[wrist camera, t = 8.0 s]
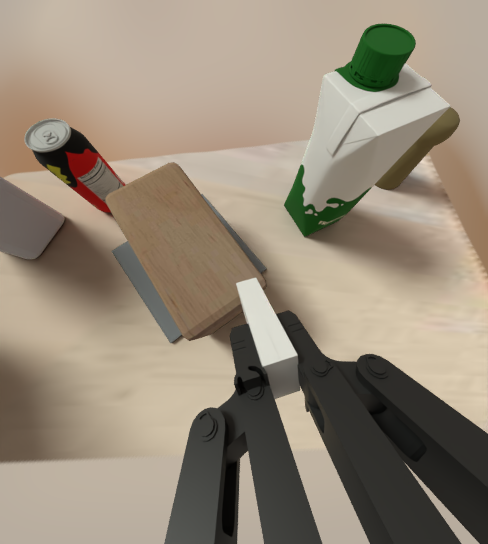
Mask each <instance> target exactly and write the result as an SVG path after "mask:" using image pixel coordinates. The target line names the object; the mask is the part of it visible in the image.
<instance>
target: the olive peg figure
mask: <svg viewBox="0 0 488 544" xmlns="http://www.w3.org/2000/svg"><path fill="white" fill-rule="evenodd" d="M459 122H460V119H459V115H458V113H457V112H456V111H455V110H454V109H452V108H451V107H450V108H448V109H447V110H446V111H445V112H444V113H443V114H442V115H441V116H440V117H439V118H438V120H437V121H436V122H435V123H434V124H433V125H432V126H431V127H430V128H429V129H428V130H427V131H426V132H425V133H424V134H423V135H422V136H421V137H420V138H419V139H418V140H417V141H416V142H415V143H414V144H413V145H412V146H411V147H410V148H409V149H408V150H407V151H406V152H405V153H404V154H403V155H402V156H401V157H400V158H399V159H398V160H397V161H396V163H395V164H394V165H393V166H392V167H391V168H390V169H389V170H388V171H387V172H386V173H385V174H384V175H383V176H382V177H381V178H380V179H379V180H378V182H377V183H376V184H375V185H376V186H377V187H379V188H382V189H386V190H391V189H395V188H397V187H398V186H399V185H400V184H401V183H402V181H403V180H404V179H405V178H406V177H407V176H408V175H409V174H410V172H411V171H412V170H413V169H414V168H415V167H416V166H417V164H418V163H419V162H420V161H421V160H422V159H423V158H424V157H425V155H426V154H427V153H428V152H429V151H430V150H431V149H432V147H433V146H435V145H438V144H440V143H442V142H443V141H445V140H446V139H448V138H449V137H450V136H451V135H452V134H453V132H454V131H455V130H456V129H457V127H458V125H459Z"/></svg>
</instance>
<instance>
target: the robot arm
mask: <svg viewBox="0 0 488 544" xmlns="http://www.w3.org/2000/svg"><path fill="white" fill-rule="evenodd" d="M236 285H237V289H238V293H239V297H240V300H241V304H242V308H243V312H244V315H245V318H246V322H247V324H244V325H241V326H238V327H234V328H232V330H231V333H230V340H231V346H232V351H233V357H234V363H235V369H236V375H235V378H234V385H235V388H236V390H235V392H234V394H233V395H232V397H231V398H230V399H229V400H228V401H226V402H225V403H224V404H222V405H221V406H220V407H219V408H211V407H210V408H207V409H204V410H203V411H201V412H200V413H199V414H198V415H197V416H196V418H195V419H194V421H193V423H192V426H191V428H190V432H189V437H188V441H187V446H186V450H185V455H184V459H183V463H182V469H181V473H180V477H179V481H178V486H177V490H176V494H175V499H174V503H173V508H172V512H171V516H170V521H169V525H168V530H167V534H166V539H165V543H164V544H237V529H238V500H239V471H240V458H241V457H242V456H243V455H244V454H245V453H246V452H247V451H248V452H249V458H250V464H251V470H252V476H253V481H254V487H255V493H256V499H257V504H258V510H259V516H260V522H261V527H262V533H263V539H264V544H322V541H321V539H320V535H319V532H318V530H317V526H316V523H315V520H314V517H313V514H312V511H311V508H310V505H309V502H308V499H307V496H306V493H305V490H304V487H303V484H302V481H301V478H300V475H299V472H298V469H297V466H296V463H295V460H294V457H293V454H292V451H291V448H290V445H289V442H288V438H287V435H286V432H285V429H284V426H283V423H282V420H281V417H280V414H279V411H278V408H277V405H276V402H275V399H276V398H279V397H282V396H285V395H288V394H291V393H294V392H297V391H300V386H301V389H302V391H303V393H304V395H305V407H306V411H307V412H309V411H310V413H311V415H312V418H313V420H314V422H315V424H316V426H317V429H318V431H319V433H320V435H321V437H322V440H323V442H324V444H325V446H326V448H327V450H328V453H329V455H330V457H331V459H332V461H333V464H334V466H335V468H336V470H337V472H338V474H339V476H340V479H341V481H342V483H343V485H344V488H345V490H346V492H347V494H348V496H349V499H350V501H351V503H352V505H353V507H354V510H355V511H356V514H357V516H358V518H359V520H360V523H361V525H362V527H363V529H364V531H365V534H366V535H367V538H368V540H369V542H370V544H461V543H460V541H459V540H458V538H457V537H456V536H455V534H454V532H453V531H452V530H451V528H450V527H449V525H448V524H447V523H446V521H445V520H444V518H443V517H442V516H441V514H440V513H439V511H438V510H437V508H436V507H435V506H434V504H433V503H432V502H431V500H430V499H429V497H428V496H427V494H426V493H425V491H424V490H423V489H422V488H421V486H420V484H419V483H418V481H417V480H416V479H415V477H414V476H413V474H412V473H411V471H410V470H409V469H408V467H407V466H406V465H405V463H406V464H407V465H408V466H409V468H410V469H411V470H412V471H413V472H414V473H415V474H416V475H417V476H418V477H419V478H420V480H422V482H423V483H424V484H425V485H426V486H427V487H428V488H429V489H430V490H431V491H432V492H433V494H434V495H435V496H436V497H437V498H438V499H439V500H440V501H441V502H442V503H443V504H444V506H445V507H446V508H447V509H448V510H449V511H450V512H451V513H452V514H453V515H454V516H455V517H456V518H457V520H458V521H459V522H460V523H461V524H462V525H463V526H464V527H465V528H466V529H467V530H468V531H469V532H470V534H471V535H472V536H473V537H474V538H475V539H476V540H477V541H478V542H479V543H480V544H488V434H487V433H486V432H485V431H483V430H482V429H481V428H479V427H478V426H476V425H475V424H474V423H472V422H471V421H470V420H468V419H467V418H466V417H464V416H463V415H461V414H460V413H459V412H457V411H456V410H455V409H453V408H452V407H450V406H449V405H448V404H446V403H445V402H444V401H442V400H441V399H440V398H438V397H437V396H435V395H434V394H433V393H431V392H430V391H429V390H427V389H426V388H424V387H423V386H422V385H420V384H419V383H418V382H416V381H415V380H414V379H412V378H411V377H409V376H408V375H407V374H405V373H404V372H403V371H401V370H400V369H398V368H397V367H396V366H394V365H393V364H392V363H390V362H389V361H387V360H386V359H384V358H382V357H380V356H377V355H374V354H365V355H363V356H360V358H359V359H358V360H357V362H342V361H335V360H332V359H330V358H328V357H326V356H325V355H324V354H323V353H322V352H321V351H320V350H319V348H318V347H317V345H316V344H315V343H314V341H313V340H312V338H311V337H310V335H309V334H308V332H307V331H306V329H305V328H304V326H303V325H302V323H301V322H300V320H299V319H298V317H297V316H296V315H295V314H293V313H292V312H290V311H286V312H282V313H279V314H275V312H274V310H273V308H272V306H271V305H270V303H269V301H268V299H267V297H266V295H265V293H264V292H263V290H262V288H261V286H260V284H259V282H258V280H257V278H252V279H249V280H245V281H242V282H238V283H236ZM403 461H404V462H405V463H404V462H403Z"/></svg>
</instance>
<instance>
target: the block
mask: <svg viewBox="0 0 488 544" xmlns="http://www.w3.org/2000/svg"><path fill="white" fill-rule="evenodd" d="M105 199H106V203H107V206H108V208H109V209H110V211H111V213H112V215H113V216H114V218H115V220H116V221H117V223H118V225H119V227H120V228H121V230H122V232H123V234H124V235H125V237H126V239H127V240H128V242H129V244H130V246H131V247H132V249H133V251H134V253H135V254H136V256H137V258H138V259H139V261H140V263H141V265H142V266H143V268H144V270H145V272H146V273H147V275H148V277H149V278H150V280H151V282H152V284H153V285H154V287H155V289H156V291H157V292H158V294H159V296H160V297H161V299H162V301H163V303H164V304H165V306H166V308H167V310H168V311H169V313H170V315H171V317H172V318H173V320H174V322H175V323H176V325H177V327H178V329H179V330H180V332H181V334H182V336H183V337H185V338H186V339H187V340H189V341H191V340H195V339H199V338H202V337H205V336H208V335H211V334H212V333H214V332H215V331H216V330H218V329H219V328H221V327H222V326H223V325H225V324H226V323H228V322H229V321H230V320H232V319H233V318H235V317H236V316H237V315H239V314H240V313H242V312H243V308H242V304H241V300H240V297H239V293H238V289H237V285H236V283H238V282H242V281H245V280H249V279H252V278H257V280H258V282H259V284H260V286H261V288H262V290H263V291H264V290H265V288H266V282H265V279H264V277H263V276H262V275H261V273H260V272H259V271H258V270H257V268H256V267H255V266H254V264H253V263H252V262H251V260H250V259H249V258H248V256H247V255H246V254H245V252H244V251H243V250H242V248H241V247H240V246H239V244H238V243H237V242H236V240H235V239H234V238H233V236H232V235H231V234H230V232H229V231H228V230H227V228H226V227H225V226H224V224H223V223H222V222H221V220H220V219H219V218H218V216H217V215H216V214H215V212H214V211H213V210H212V208H211V207H210V206H209V204H208V203H207V202H206V201H205V199H204V198H203V197H202V195H201V194H200V193H199V191H198V190H197V189H196V187H195V186H194V185H193V183H192V182H191V181H190V179H189V178H188V177H187V175H186V174H185V173H184V171H183V170H182V169H181V167H179V166H178V165H177V164H176V163H174V162H173V163H168V164H166V165H164V166H162V167H160V168H158V169H156V170H154V171H152V172H150V173H148V174H146V175H144V176H143V177H141V178H139V179H137V180H135V181H133V182H131V183H129V184H127V185H125V186H123V187H121V188H119V189H117V190H115V191H113V192H111V193H109V194H108V195H107V196H106V198H105Z"/></svg>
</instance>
